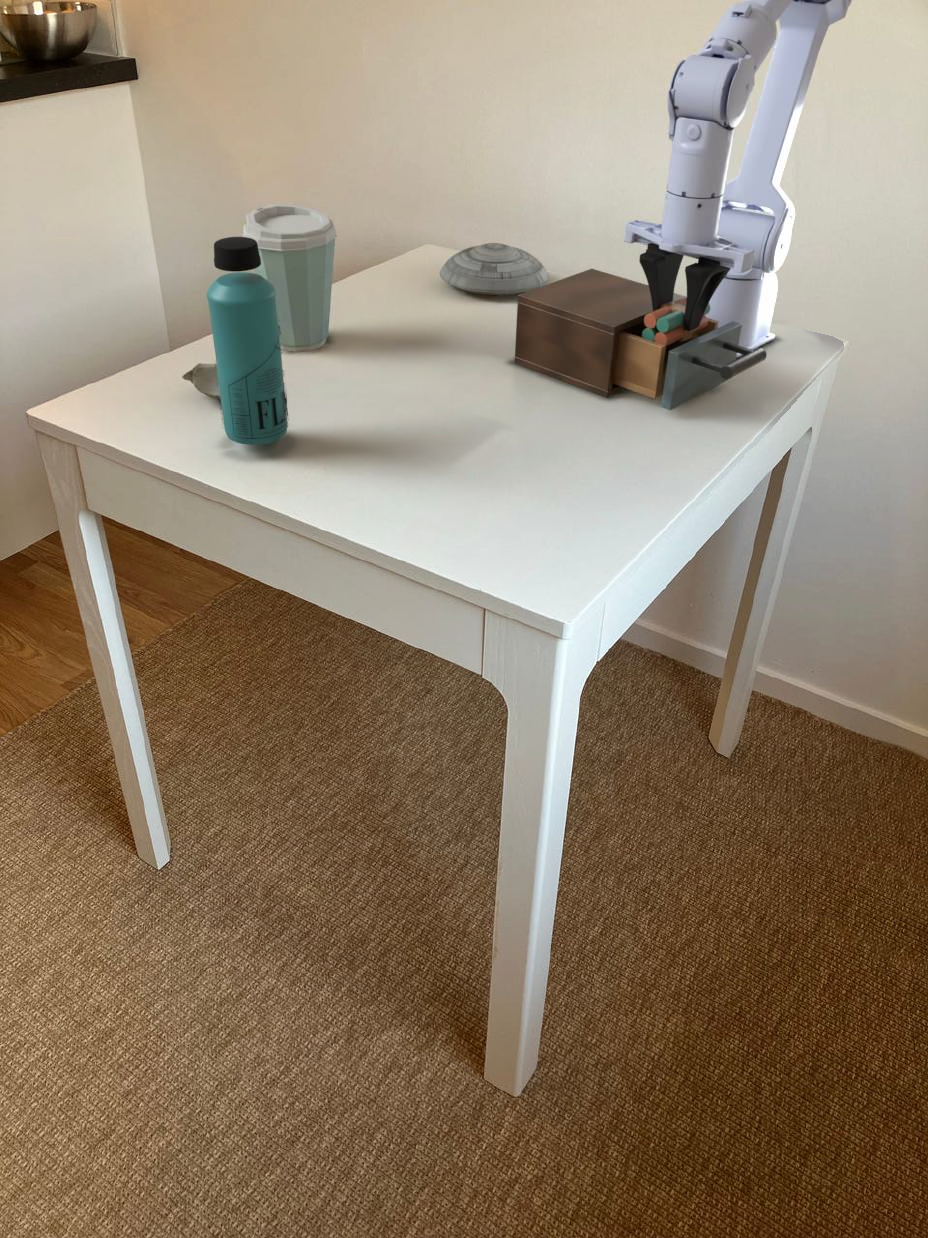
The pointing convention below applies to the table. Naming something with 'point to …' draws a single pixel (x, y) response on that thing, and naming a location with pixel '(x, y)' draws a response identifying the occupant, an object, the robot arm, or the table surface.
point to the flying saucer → (494, 270)
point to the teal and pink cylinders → (670, 323)
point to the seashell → (204, 379)
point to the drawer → (681, 362)
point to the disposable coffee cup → (296, 269)
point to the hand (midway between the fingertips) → (675, 323)
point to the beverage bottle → (247, 346)
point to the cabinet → (579, 327)
